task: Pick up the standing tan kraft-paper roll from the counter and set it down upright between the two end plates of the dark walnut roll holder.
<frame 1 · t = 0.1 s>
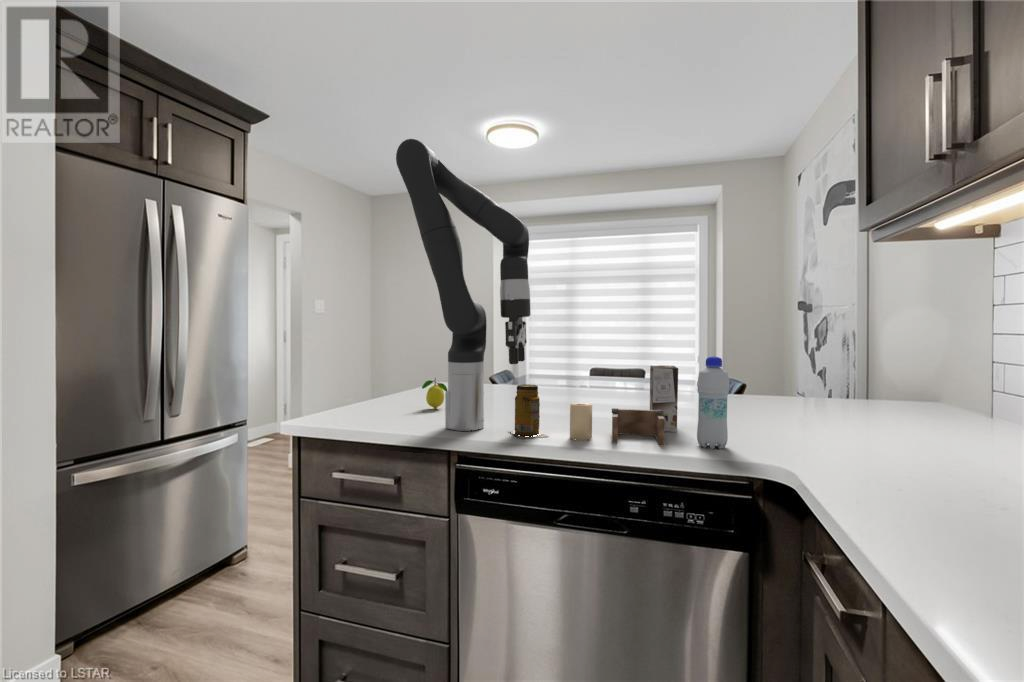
hand: (517, 362, 127), 17 cm above the counter, tool pointing down, fingers open, 8 cm apart
lemon: (434, 409, 159), on the counter
holder: (636, 438, 119), on the counter
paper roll: (580, 438, 120), on the counter
bottle: (711, 447, 112), on the counter
coffee box: (662, 428, 131), on the counter
condiment: (527, 435, 123), on the counter
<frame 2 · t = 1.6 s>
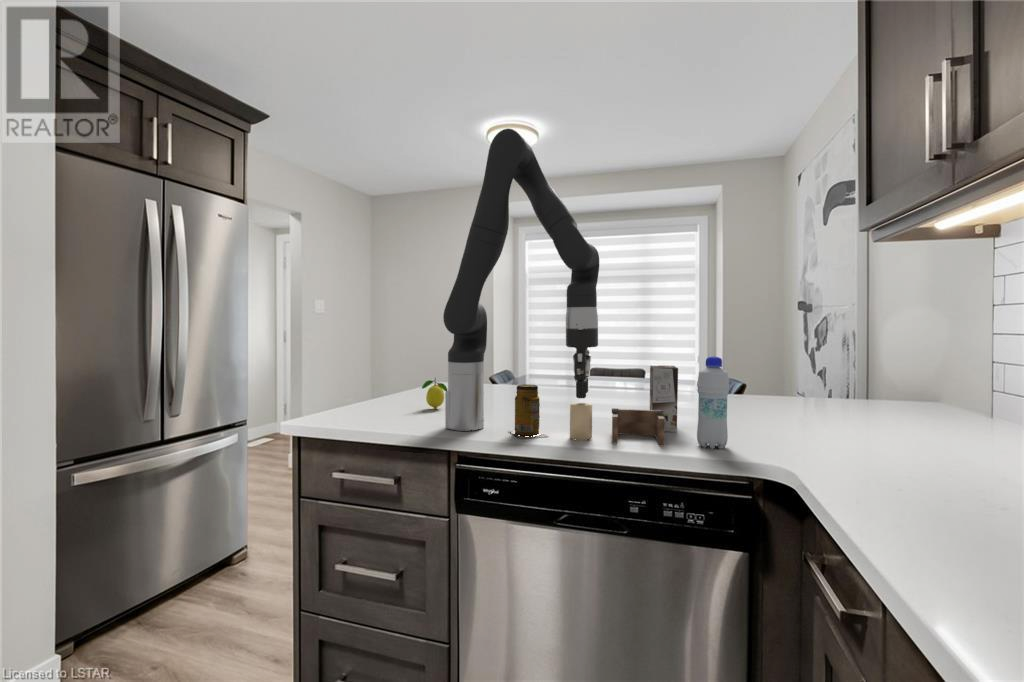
hand: (582, 395, 119), 10 cm above the counter, tool pointing down, fingers open, 8 cm apart
nothing on the counter moved.
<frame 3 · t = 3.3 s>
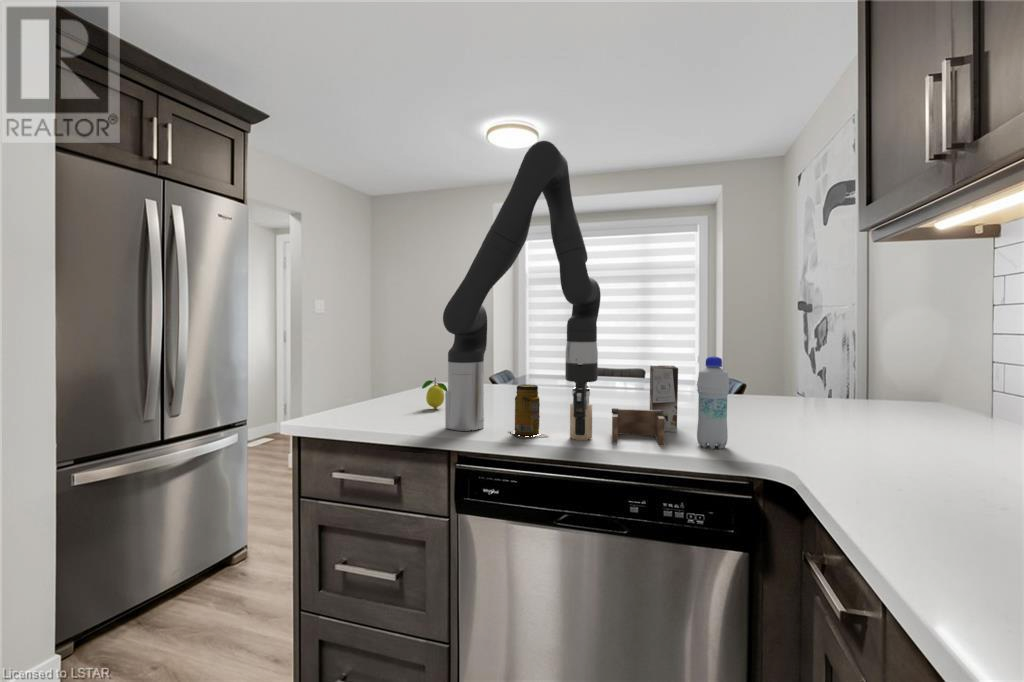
hand: (581, 431, 120), 1 cm above the counter, tool pointing down, fingers closed on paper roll, 5 cm apart
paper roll: (581, 437, 120), on the counter, touching gripper
everything else where it was.
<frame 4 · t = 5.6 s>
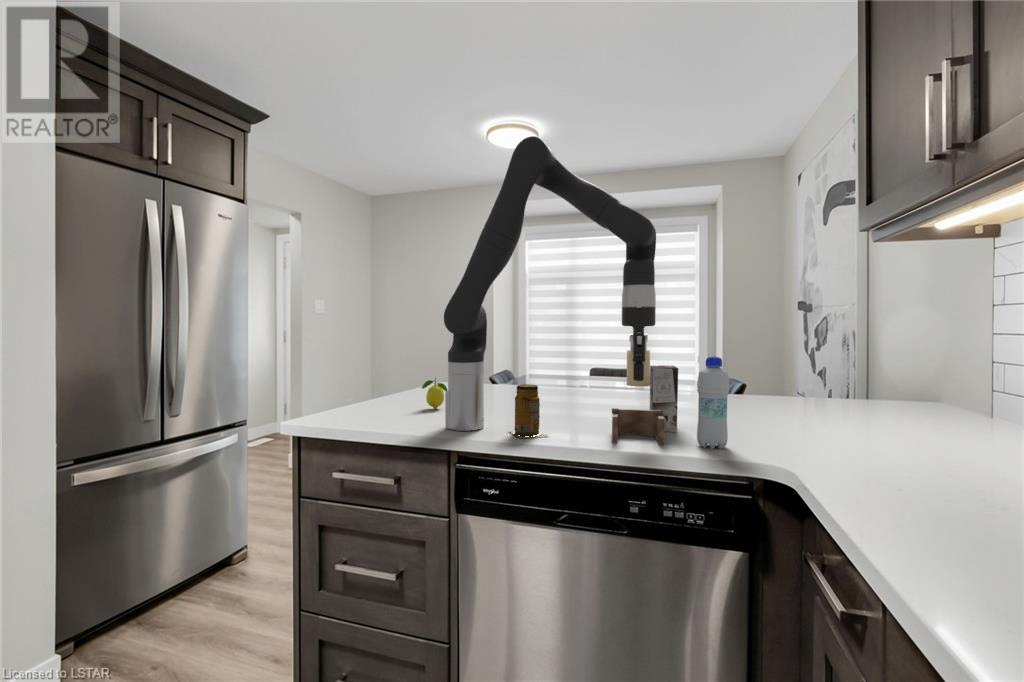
hand: (638, 378, 116), 14 cm above the counter, tool pointing down, fingers closed on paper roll, 5 cm apart
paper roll: (638, 385, 116), point 13 cm above the counter, touching gripper
everything else where it was.
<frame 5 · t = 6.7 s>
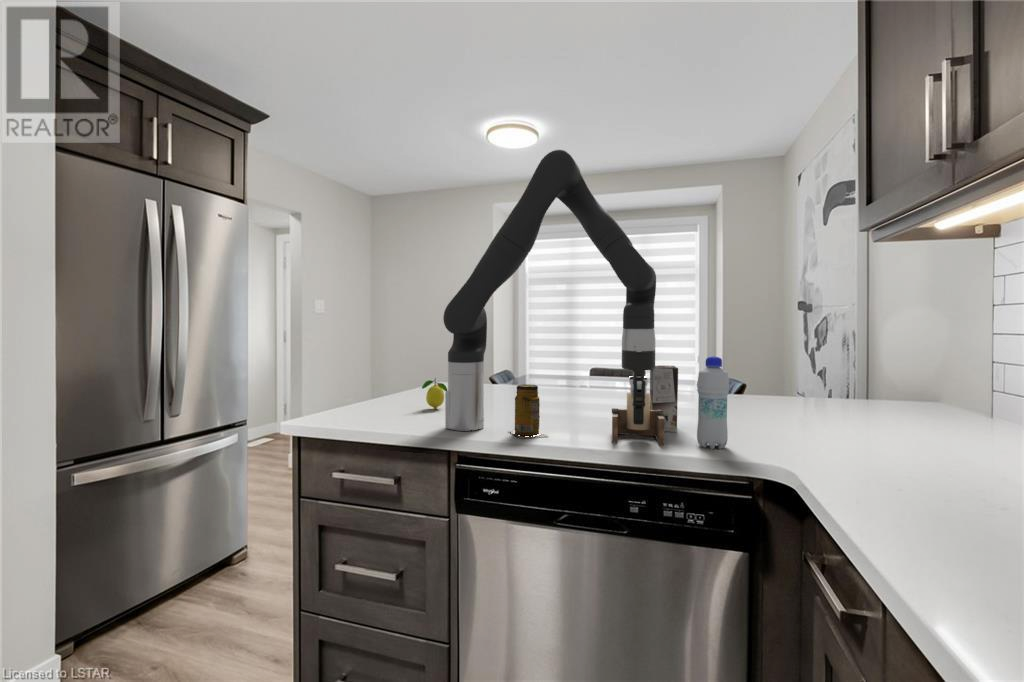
hand: (637, 421, 117), 5 cm above the counter, tool pointing down, fingers closed on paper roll, 5 cm apart
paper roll: (638, 427, 117), point 3 cm above the counter, touching gripper
everything else where it was.
when the fingers open (3 cm above the counter, at t = 7.8 s): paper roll drops 1 cm, on the counter.
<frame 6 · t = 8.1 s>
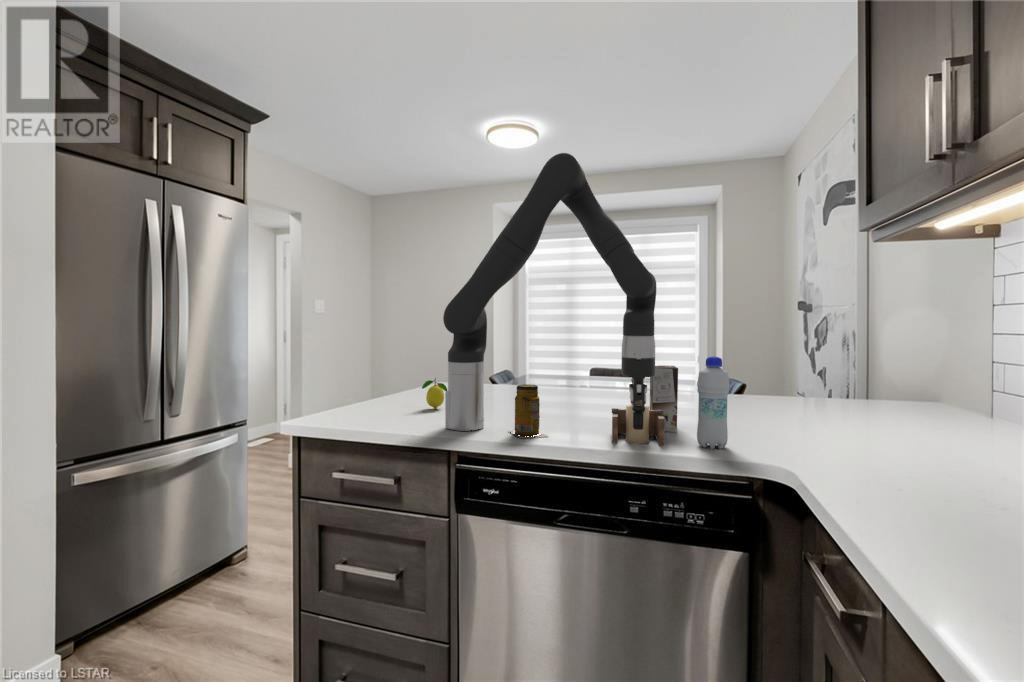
hand: (637, 425, 117), 4 cm above the counter, tool pointing down, fingers open, 8 cm apart
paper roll: (637, 440, 117), on the counter
everything else where it was.
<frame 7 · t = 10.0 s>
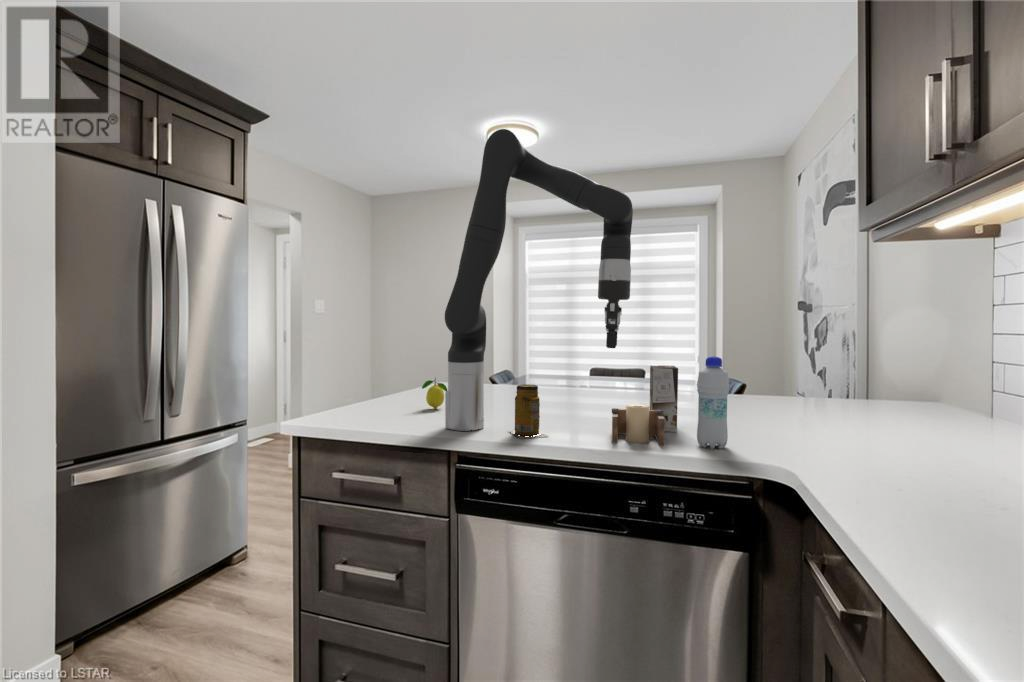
hand: (611, 347, 121), 21 cm above the counter, tool pointing down, fingers open, 8 cm apart
nothing on the counter moved.
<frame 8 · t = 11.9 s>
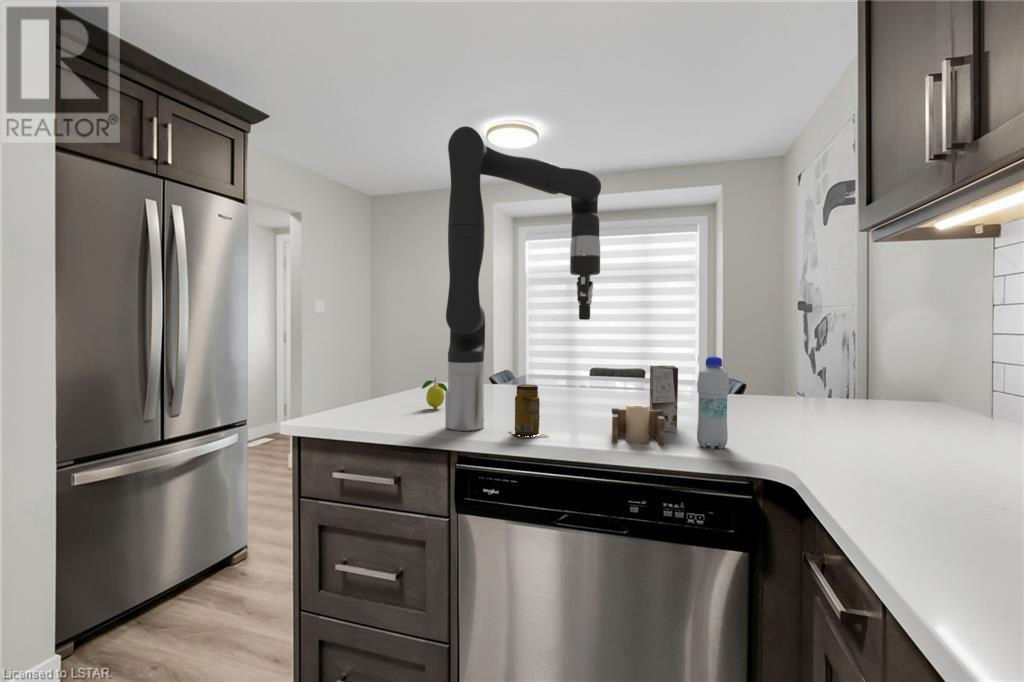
hand: (584, 319, 128), 28 cm above the counter, tool pointing down, fingers open, 8 cm apart
nothing on the counter moved.
at the end: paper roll inside the target area on the holder (0.4 cm from its centre), point 0.0 cm above the holder's base; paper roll tilted 0°; the gripper is holding nothing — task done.
